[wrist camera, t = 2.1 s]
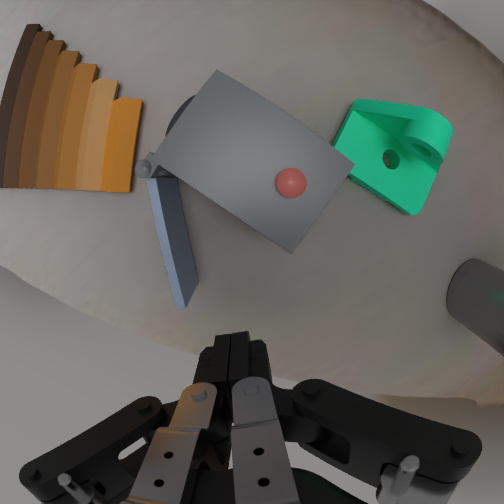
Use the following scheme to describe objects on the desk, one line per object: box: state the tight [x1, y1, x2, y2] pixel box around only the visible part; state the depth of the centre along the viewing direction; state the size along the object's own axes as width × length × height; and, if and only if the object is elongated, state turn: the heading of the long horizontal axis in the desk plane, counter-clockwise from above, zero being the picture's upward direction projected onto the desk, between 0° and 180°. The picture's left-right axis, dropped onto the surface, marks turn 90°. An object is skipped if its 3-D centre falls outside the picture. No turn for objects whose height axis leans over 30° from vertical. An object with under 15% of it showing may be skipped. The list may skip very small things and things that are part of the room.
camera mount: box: [332, 99, 453, 215], centre depth 23 cm, size 12×8×10 cm, turn 63°
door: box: [147, 167, 199, 310], centre depth 26 cm, size 12×2×7 cm, turn 10°
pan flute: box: [0, 24, 143, 193], centre depth 24 cm, size 25×3×25 cm
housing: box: [135, 70, 355, 254], centre depth 23 cm, size 13×10×11 cm
